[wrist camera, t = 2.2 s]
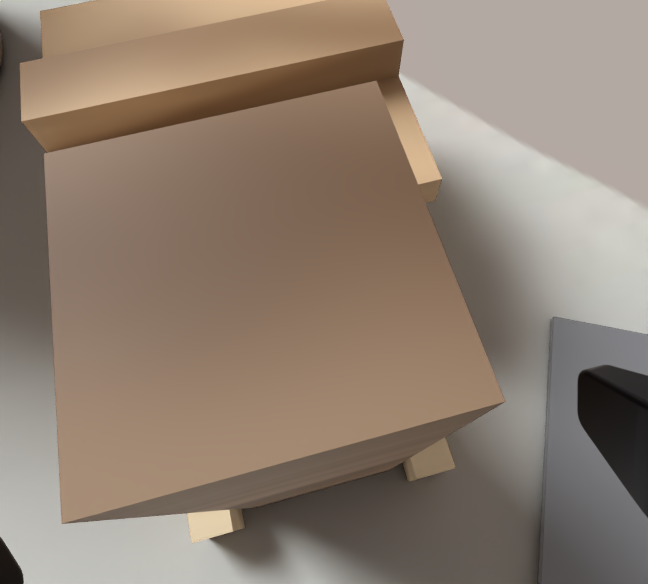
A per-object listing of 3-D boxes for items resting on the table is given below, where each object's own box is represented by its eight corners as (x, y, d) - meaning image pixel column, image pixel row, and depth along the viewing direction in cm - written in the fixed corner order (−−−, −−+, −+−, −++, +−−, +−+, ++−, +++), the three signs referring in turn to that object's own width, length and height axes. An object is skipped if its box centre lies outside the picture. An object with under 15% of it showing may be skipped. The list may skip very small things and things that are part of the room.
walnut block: (389, 470, 17) (506, 401, 5) (257, 507, 16) (62, 523, 5) (352, 344, 18) (375, 81, 7) (232, 375, 18) (43, 153, 6)
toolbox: (469, 464, 17) (580, 434, 9) (178, 546, 16) (34, 588, 8) (342, 107, 23) (345, -90, 15) (127, 155, 22) (17, -27, 14)
